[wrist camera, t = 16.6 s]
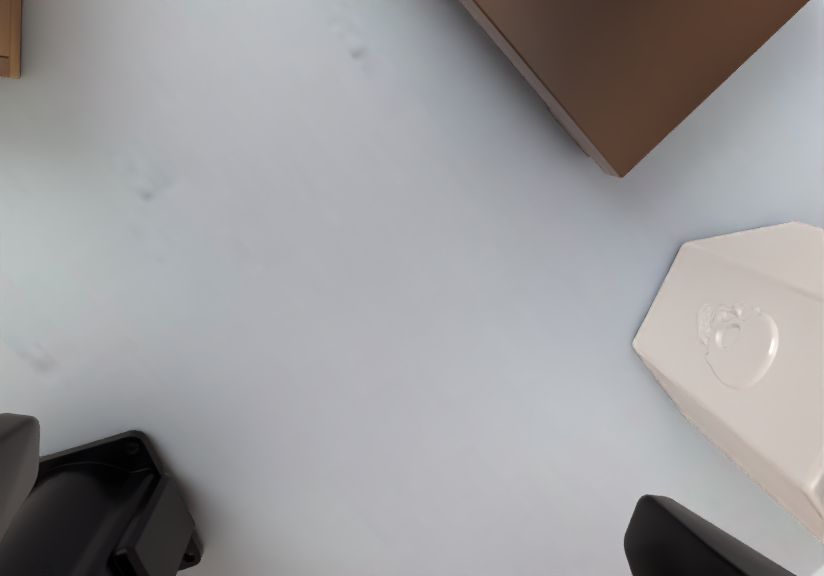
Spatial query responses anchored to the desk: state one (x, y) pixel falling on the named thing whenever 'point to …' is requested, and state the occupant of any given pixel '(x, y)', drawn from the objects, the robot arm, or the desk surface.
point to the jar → (749, 355)
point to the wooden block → (627, 61)
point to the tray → (10, 38)
